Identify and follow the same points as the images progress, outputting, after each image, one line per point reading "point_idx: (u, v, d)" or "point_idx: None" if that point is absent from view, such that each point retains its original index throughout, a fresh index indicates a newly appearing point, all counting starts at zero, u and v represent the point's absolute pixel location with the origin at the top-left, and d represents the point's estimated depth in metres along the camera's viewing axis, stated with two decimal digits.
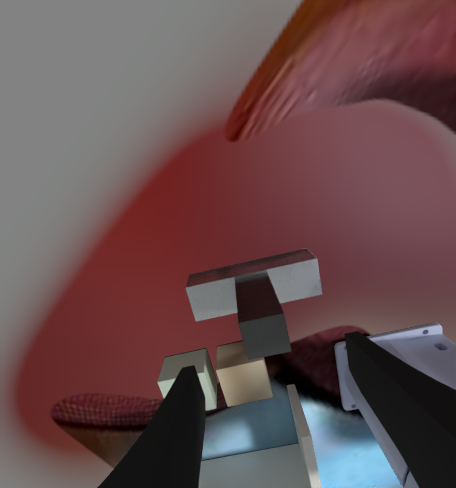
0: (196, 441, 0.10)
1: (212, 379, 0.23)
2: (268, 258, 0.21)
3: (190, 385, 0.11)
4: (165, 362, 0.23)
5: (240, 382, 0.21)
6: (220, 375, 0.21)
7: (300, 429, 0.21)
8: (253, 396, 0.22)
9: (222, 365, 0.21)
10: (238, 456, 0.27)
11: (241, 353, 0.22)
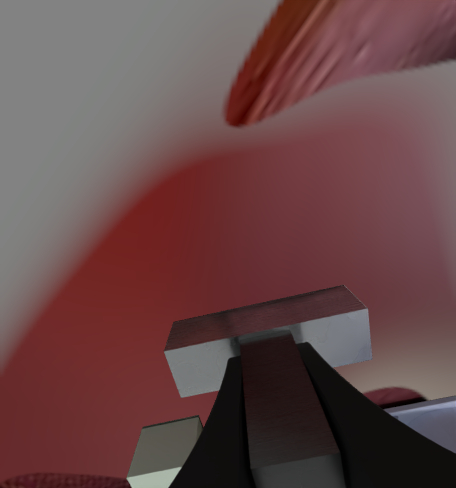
0: None
1: None
2: (288, 300, 0.14)
3: None
4: (141, 438, 0.17)
5: None
6: None
7: None
8: None
9: None
10: None
11: None
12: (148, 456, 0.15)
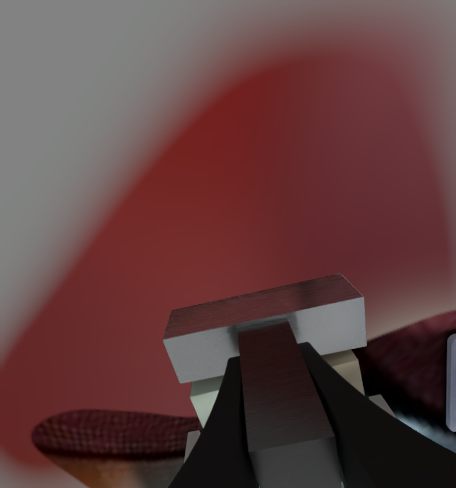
0: None
1: None
2: (286, 289, 0.14)
3: None
4: None
5: None
6: None
7: None
8: None
9: None
10: None
11: None
12: (209, 378, 0.14)
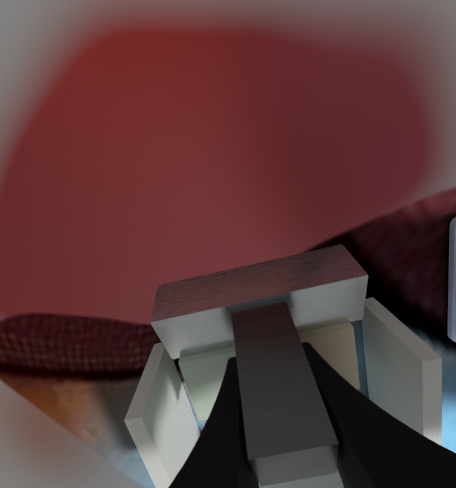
0: None
1: None
2: (282, 262, 0.13)
3: None
4: None
5: None
6: None
7: (414, 350, 0.11)
8: None
9: None
10: None
11: None
12: None
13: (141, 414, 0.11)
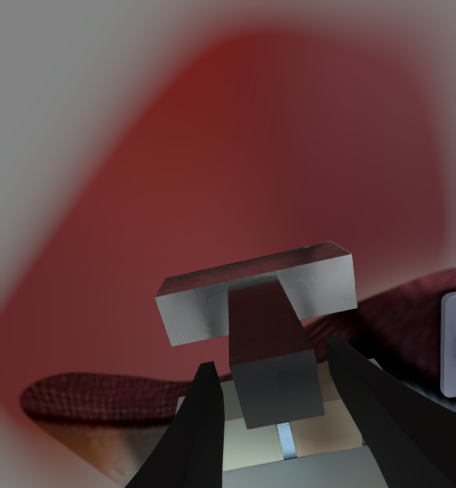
0: (218, 436, 0.10)
1: None
2: (277, 255, 0.15)
3: (211, 381, 0.11)
4: None
5: (320, 425, 0.15)
6: None
7: None
8: (335, 445, 0.15)
9: None
10: (285, 463, 0.19)
11: None
12: None
13: None
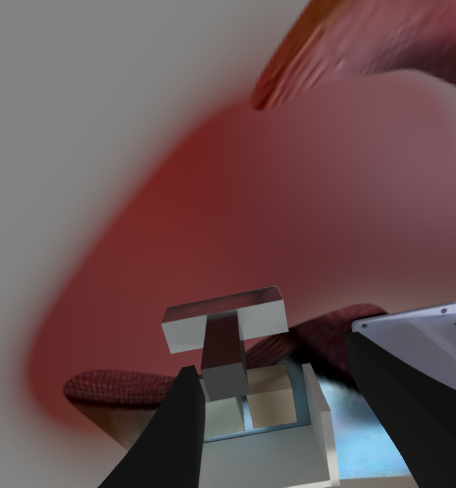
0: (196, 441, 0.10)
1: (240, 401, 0.24)
2: (241, 294, 0.22)
3: (190, 385, 0.11)
4: None
5: (268, 407, 0.23)
6: (250, 399, 0.22)
7: (319, 404, 0.20)
8: (278, 420, 0.23)
9: (252, 390, 0.22)
10: (250, 437, 0.27)
11: (269, 379, 0.23)
12: None
13: None
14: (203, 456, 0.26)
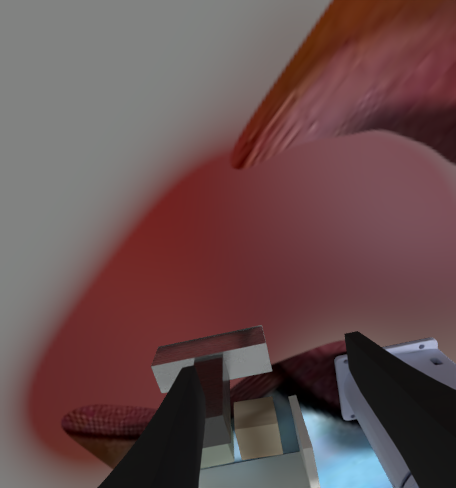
0: (196, 441, 0.10)
1: None
2: (227, 334, 0.23)
3: (190, 385, 0.11)
4: None
5: (255, 440, 0.24)
6: (238, 433, 0.23)
7: (302, 440, 0.22)
8: (265, 452, 0.24)
9: (240, 424, 0.24)
10: (241, 464, 0.28)
11: (257, 412, 0.24)
12: None
13: None
14: None
